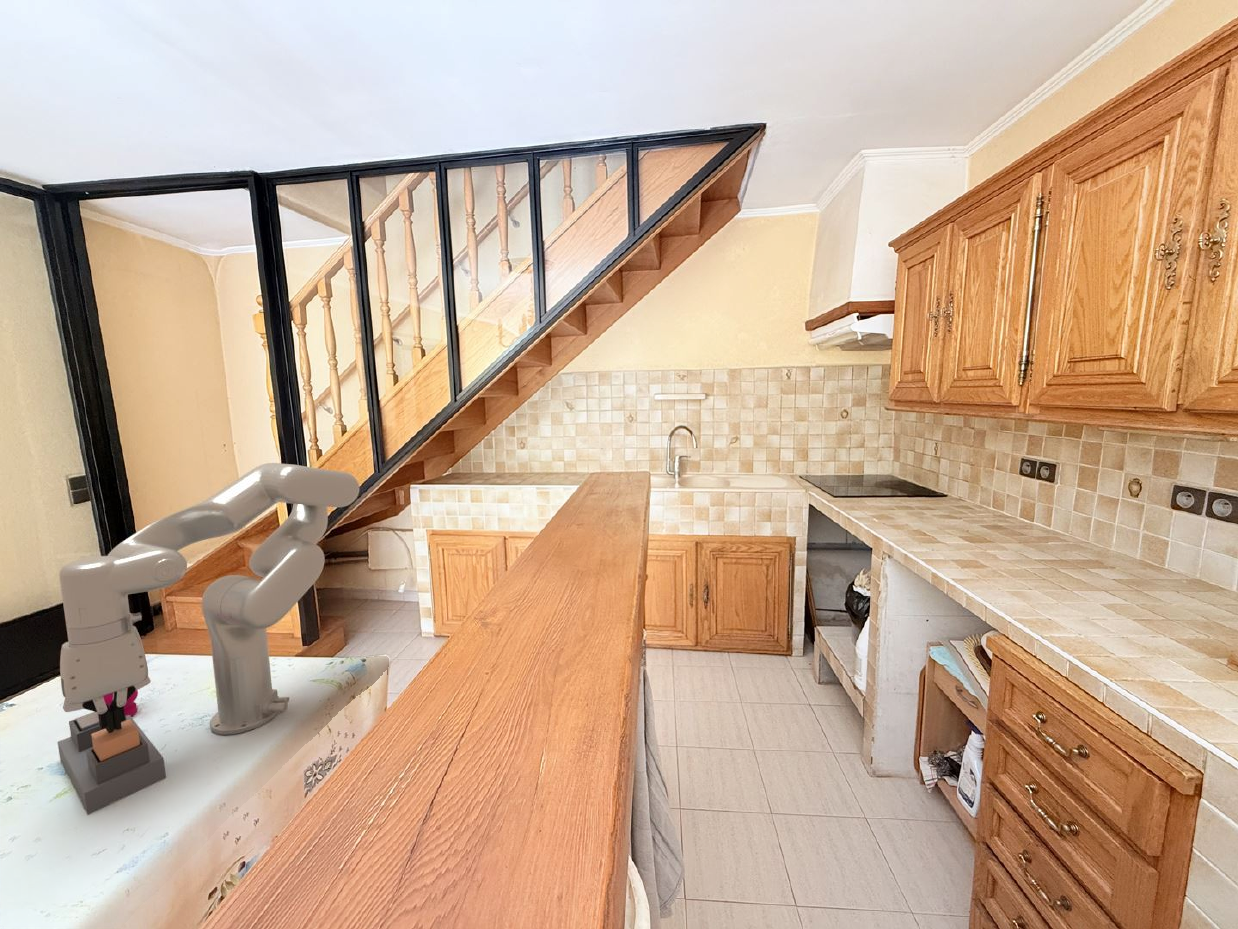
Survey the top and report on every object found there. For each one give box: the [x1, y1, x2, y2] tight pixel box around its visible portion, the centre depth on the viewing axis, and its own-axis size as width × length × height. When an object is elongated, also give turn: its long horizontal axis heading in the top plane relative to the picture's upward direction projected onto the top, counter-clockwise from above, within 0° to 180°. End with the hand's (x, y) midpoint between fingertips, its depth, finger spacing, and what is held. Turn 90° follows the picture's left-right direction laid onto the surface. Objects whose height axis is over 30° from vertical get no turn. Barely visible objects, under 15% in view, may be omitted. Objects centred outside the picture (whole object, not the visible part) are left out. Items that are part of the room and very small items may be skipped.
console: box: [57, 715, 167, 816], centre depth 93 cm, size 22×10×8 cm, turn 56°
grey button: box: [75, 711, 99, 732], centre depth 96 cm, size 5×5×3 cm
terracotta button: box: [91, 719, 140, 761], centre depth 88 cm, size 5×5×3 cm
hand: (113, 728), depth 88 cm, fingers closed
